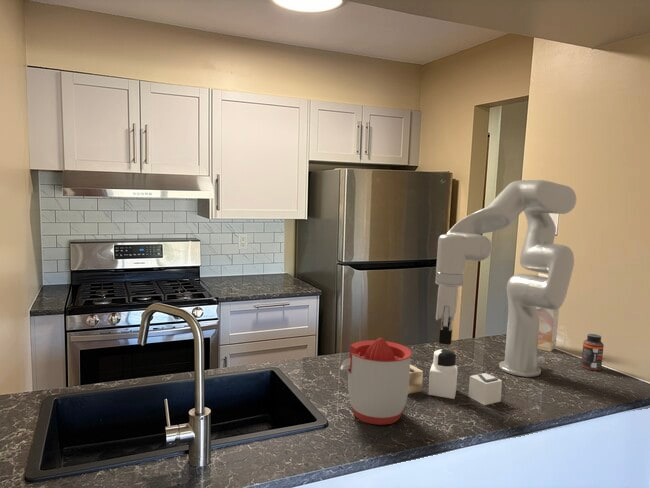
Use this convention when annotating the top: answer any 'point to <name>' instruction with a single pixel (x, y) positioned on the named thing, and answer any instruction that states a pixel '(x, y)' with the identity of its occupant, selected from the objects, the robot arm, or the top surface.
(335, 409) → the top surface
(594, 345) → the supplement bottle
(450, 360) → the medicine bottle
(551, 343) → the coffeecake box
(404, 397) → the citrus juicer
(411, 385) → the maple block one
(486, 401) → the white marked cube
